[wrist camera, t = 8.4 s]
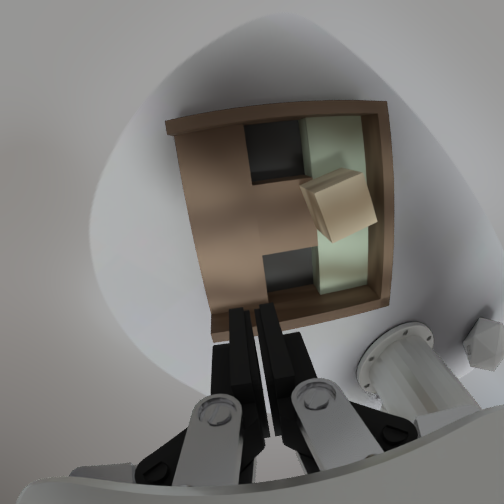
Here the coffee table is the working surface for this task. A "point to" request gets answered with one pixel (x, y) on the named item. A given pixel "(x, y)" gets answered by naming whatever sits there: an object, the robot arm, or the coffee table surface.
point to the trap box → (285, 208)
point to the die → (485, 344)
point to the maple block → (339, 203)
